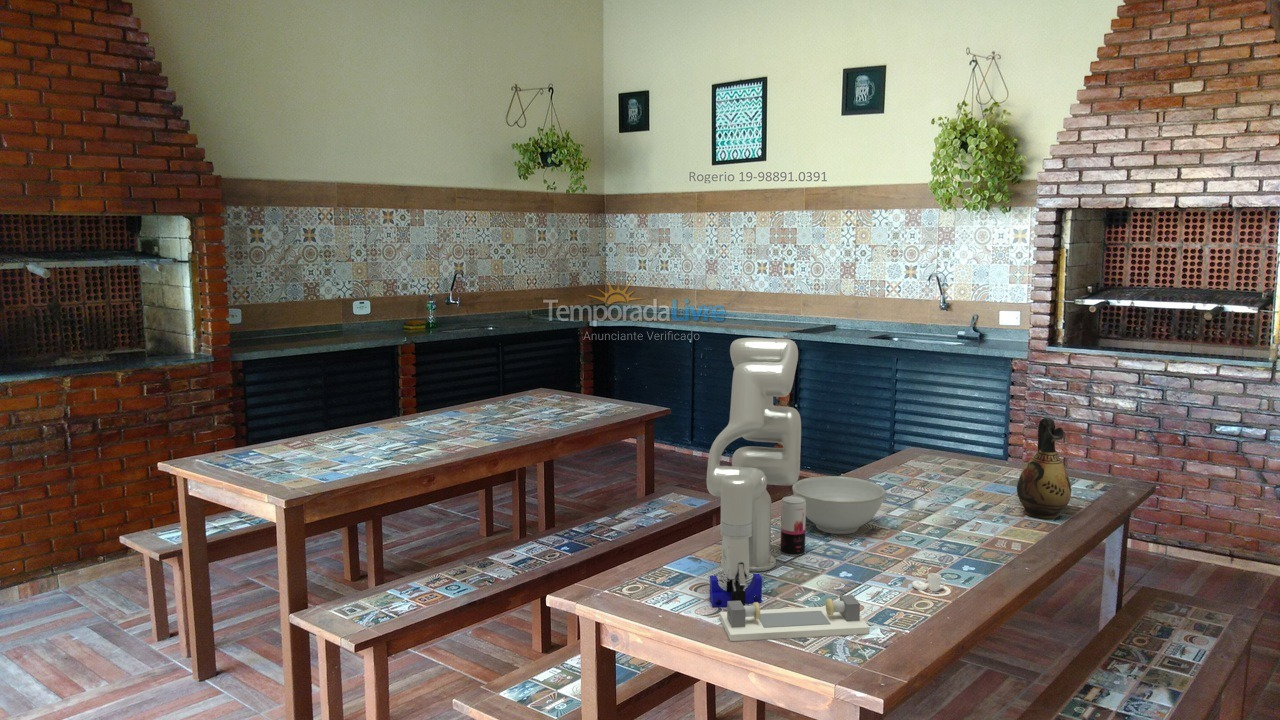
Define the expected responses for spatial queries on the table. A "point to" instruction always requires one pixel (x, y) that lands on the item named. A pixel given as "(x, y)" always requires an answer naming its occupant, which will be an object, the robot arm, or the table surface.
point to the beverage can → (793, 525)
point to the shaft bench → (793, 620)
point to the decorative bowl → (839, 502)
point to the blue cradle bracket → (721, 596)
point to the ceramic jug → (1045, 476)
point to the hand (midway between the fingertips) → (735, 600)
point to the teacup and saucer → (931, 585)
